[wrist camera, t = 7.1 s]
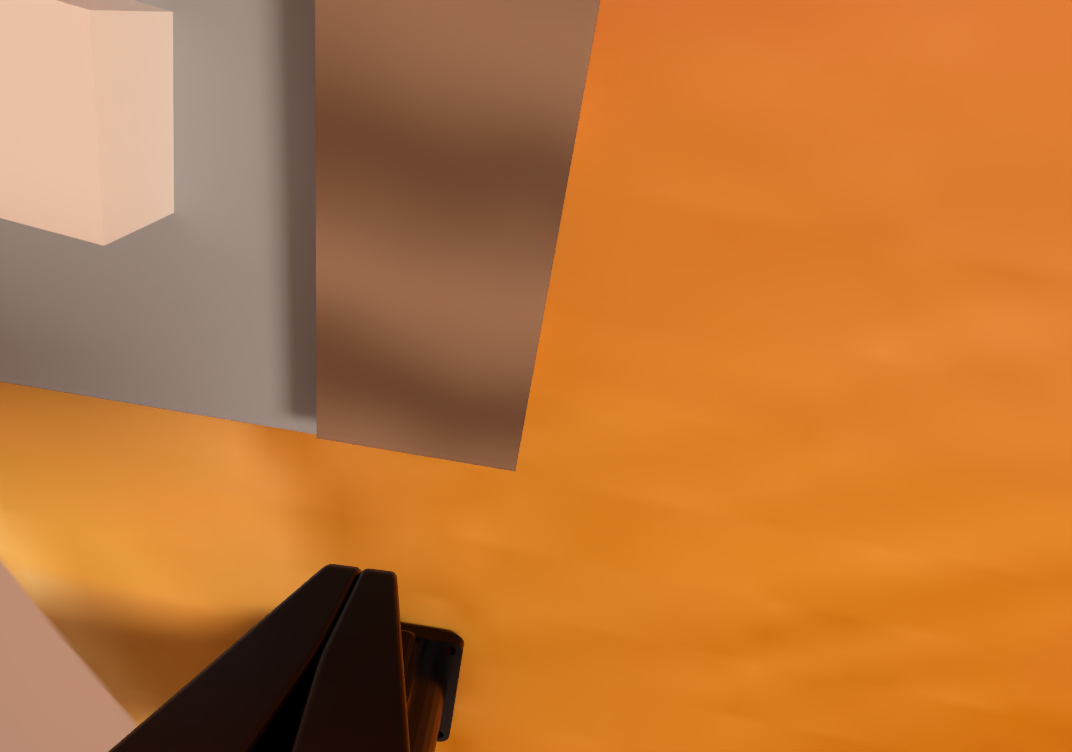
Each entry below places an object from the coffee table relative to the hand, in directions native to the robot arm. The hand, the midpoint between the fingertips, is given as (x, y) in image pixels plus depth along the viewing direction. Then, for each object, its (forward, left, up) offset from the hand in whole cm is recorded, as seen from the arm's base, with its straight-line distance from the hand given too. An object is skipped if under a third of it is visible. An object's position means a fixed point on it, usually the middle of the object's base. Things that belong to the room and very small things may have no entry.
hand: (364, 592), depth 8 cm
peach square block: (+3, +11, -12) cm, 16 cm away
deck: (+2, +1, -12) cm, 13 cm away
